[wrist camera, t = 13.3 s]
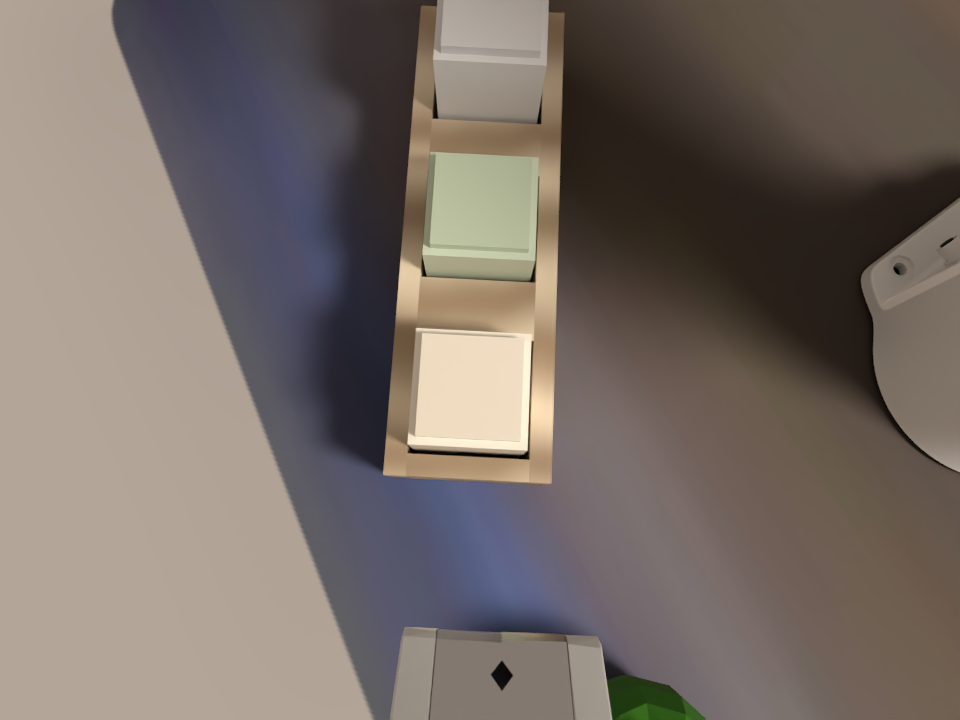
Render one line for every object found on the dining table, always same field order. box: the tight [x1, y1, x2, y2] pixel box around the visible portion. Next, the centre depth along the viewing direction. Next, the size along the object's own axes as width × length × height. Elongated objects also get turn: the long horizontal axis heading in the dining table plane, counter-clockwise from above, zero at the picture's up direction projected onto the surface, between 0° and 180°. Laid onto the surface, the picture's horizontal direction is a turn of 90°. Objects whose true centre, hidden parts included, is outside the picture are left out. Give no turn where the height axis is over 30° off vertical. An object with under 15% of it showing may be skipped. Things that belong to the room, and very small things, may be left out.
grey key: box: [433, 0, 549, 124], centre depth 38 cm, size 6×6×7 cm
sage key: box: [422, 152, 539, 282], centre depth 38 cm, size 6×6×7 cm
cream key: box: [407, 328, 532, 458], centre depth 36 cm, size 6×6×7 cm
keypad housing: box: [383, 6, 564, 485], centre depth 40 cm, size 29×9×5 cm, turn 177°
